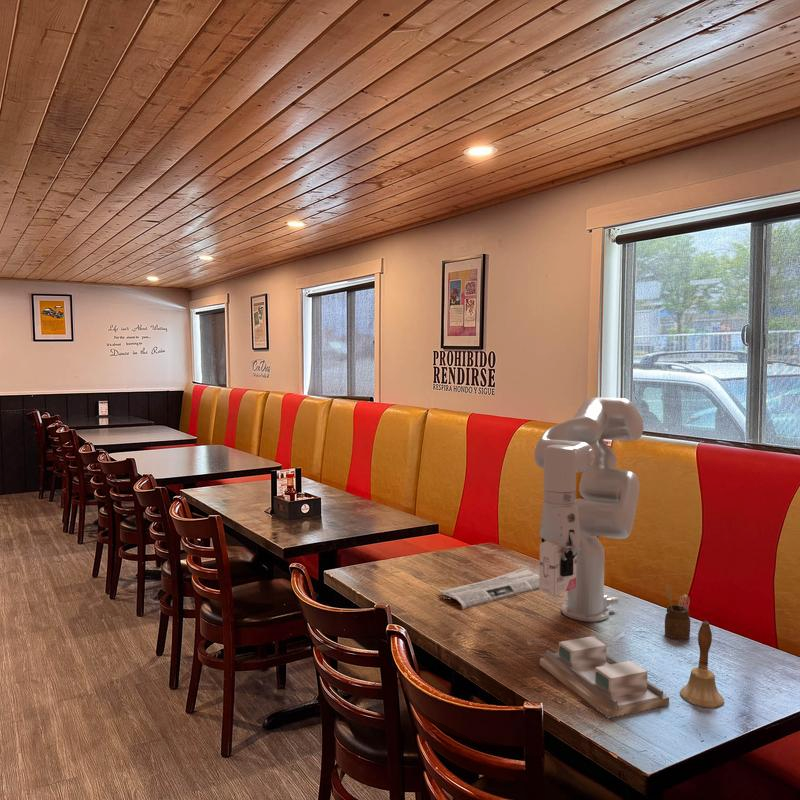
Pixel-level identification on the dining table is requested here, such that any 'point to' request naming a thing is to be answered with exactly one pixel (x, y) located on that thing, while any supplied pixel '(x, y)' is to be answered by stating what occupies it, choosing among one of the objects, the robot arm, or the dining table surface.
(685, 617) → the utensil holder
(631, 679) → the rail board
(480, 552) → the dining table surface
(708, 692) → the hand bell
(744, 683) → the dining table surface
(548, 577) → the ink box
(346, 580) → the dining table surface
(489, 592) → the newspaper
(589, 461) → the robot arm
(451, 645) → the dining table surface
